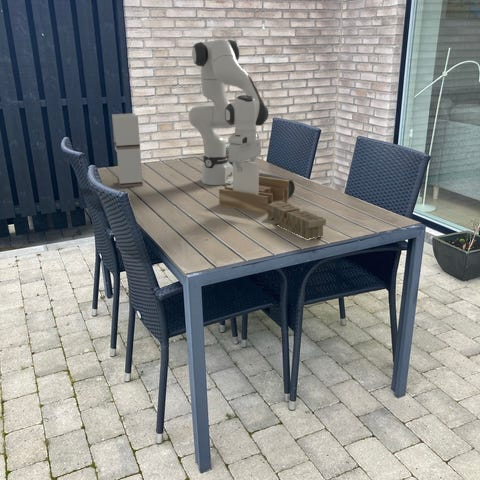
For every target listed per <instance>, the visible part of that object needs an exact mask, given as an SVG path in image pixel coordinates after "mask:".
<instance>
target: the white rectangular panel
mask: <svg viewBox="0 0 480 480" xmlns="http://www.w3.org/2000/svg"><path fill="white" fill-rule="evenodd" d="M240 165H241V167H242V171H241V172H237V167H236V165H235V163H233V165H232V166H233V183H232V188H233V191H238V192H244V193H250V194H256V195H259V173H260V162H256V161H255V162H250V161H247V160H244V161H241V164H240Z"/></svg>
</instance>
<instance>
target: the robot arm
mask: <svg viewBox="0 0 480 480" xmlns="http://www.w3.org/2000/svg"><path fill="white" fill-rule="evenodd" d="M240 54H241V53H240V47H239V44H238V42H237V41H235V40H234V39H233V40H232V39H228V40H225V39H214V40H209V41H204V42H203V41H201V42H200V41H199V42H196V43H194V45H193V46H192V50H191V57H192V60H193V63H194V64H195V65H196V66H198V67H200V68H201V69H200V79H201V81H200V82H201V92H202V95H203V96H204V97H205V98H206V99H208V100H209V101H212V103H213V105H198V106H193V107H192V108H191V109H190V110H189V113H188V120H189V123H190V125H191V126H192V127H193V128H195V129H196V130H197V132H199V134H200V136H201V138H202V142H203V153H204V154H203V156H202V157H203V160H202V161H203V165H202V169H201V171H202V174H201V177H200V181H201V183H202V184H203V185H208V186H221V185H222V186H223V185H233V165H231V164H230V163H229V162H228V159H229V160H230V162H233V163H235V165H236V167H237V172H241V171H242V167H241V165H240V164H241V161H247V160H250V161H249V162H256V159H257V157H259V156H261V154H262V142H261V138H260V136H259V135H258V133H257V126H263V124H265V123H266V122H267V120H268V118H269V109H268V106H267V105H266V103H265V102H264V100H263V99H262V97H261V95H260V93H259V91H258V89H257V87H256V85H255V83H254V81H253V79H252V77H251V75H250V74H249V72H247V71H246V70H245V69H244V68H243V67H242V66H240V64H239V63H238V61H239V58H240ZM225 85H229V86H232V87H236V88H238V89H240V90H242V91H243V93H244V95H243V94H241V95H238V96H236V98H235V101H233V102H230V101H229V99H228V97H227V94H226V89H225V88H226V87H225ZM231 128H234V132H233V133H232V134H231V135H230V136H229V137H228V139H227V140H228V141H227V142H228V145H229V155H226V146H227V143H226V140H225V138H224V137H223V136H222V135H220V134H217V133H216V132H215V130H214V129H231ZM227 158H228V159H227Z"/></svg>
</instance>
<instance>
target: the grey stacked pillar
mask: <svg viewBox="0 0 480 480" xmlns="http://www.w3.org/2000/svg"><path fill="white" fill-rule="evenodd" d="M111 117H112V120H111V121H112V130H113V132H112V133H113V142H114V150H115V152H116V157H117V170H118V171H117V172H118V178H117V184H118V186H119V188H120V187H121V188H130V187H131V186H134V187H142V186H144V185H143V184H144V183H143V170H142V168H143V167H142V157H141V155H142V154H141V144H140V143H141V142H140V129H139V128H140V127H139V125H140V124H139V116H138V114H136V113H117V114H115V113H114V114H113V113H112V114H111ZM131 188H132V187H131Z"/></svg>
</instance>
